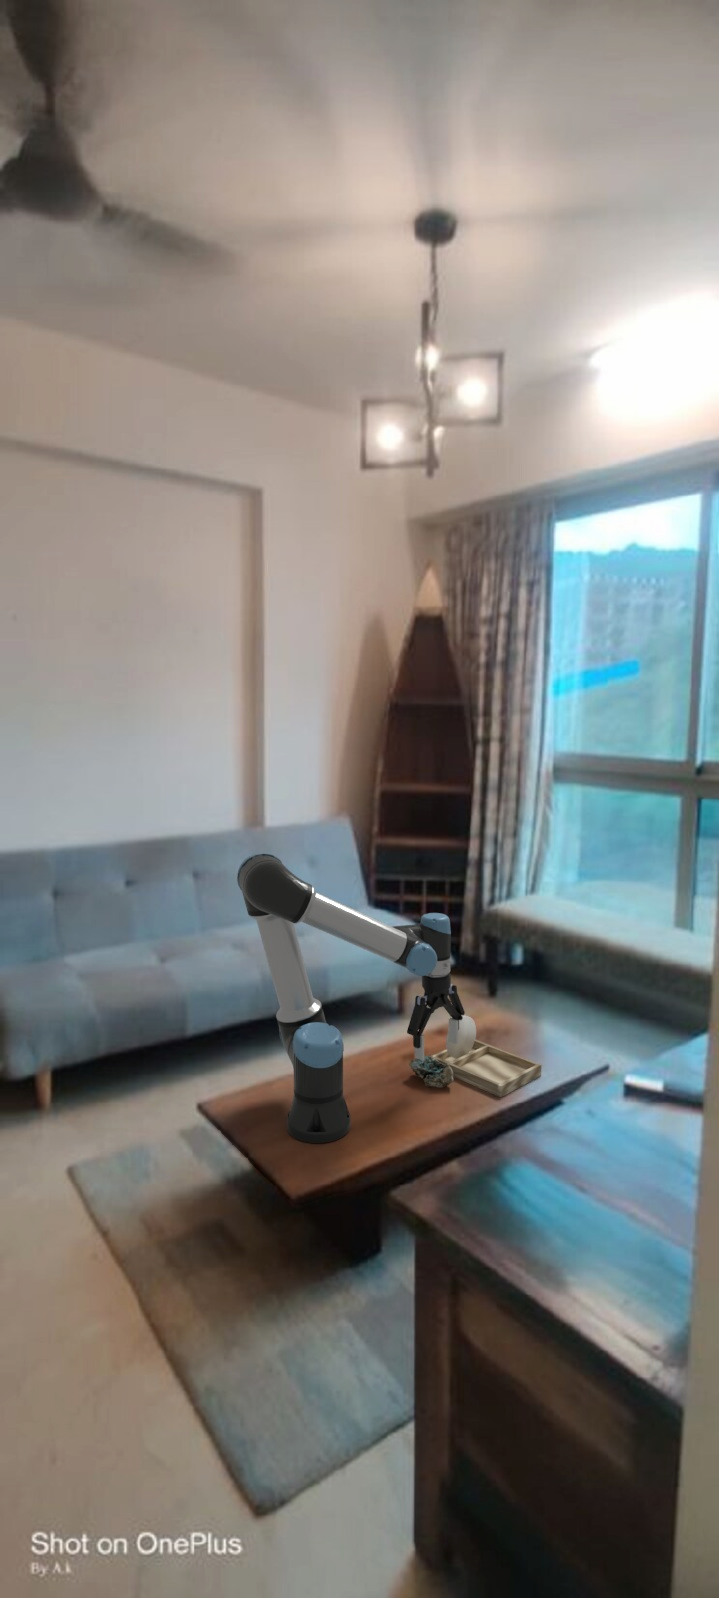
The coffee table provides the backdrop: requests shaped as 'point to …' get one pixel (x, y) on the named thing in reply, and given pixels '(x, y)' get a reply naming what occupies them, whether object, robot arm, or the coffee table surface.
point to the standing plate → (462, 1038)
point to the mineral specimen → (432, 1071)
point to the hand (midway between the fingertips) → (436, 1050)
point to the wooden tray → (491, 1068)
